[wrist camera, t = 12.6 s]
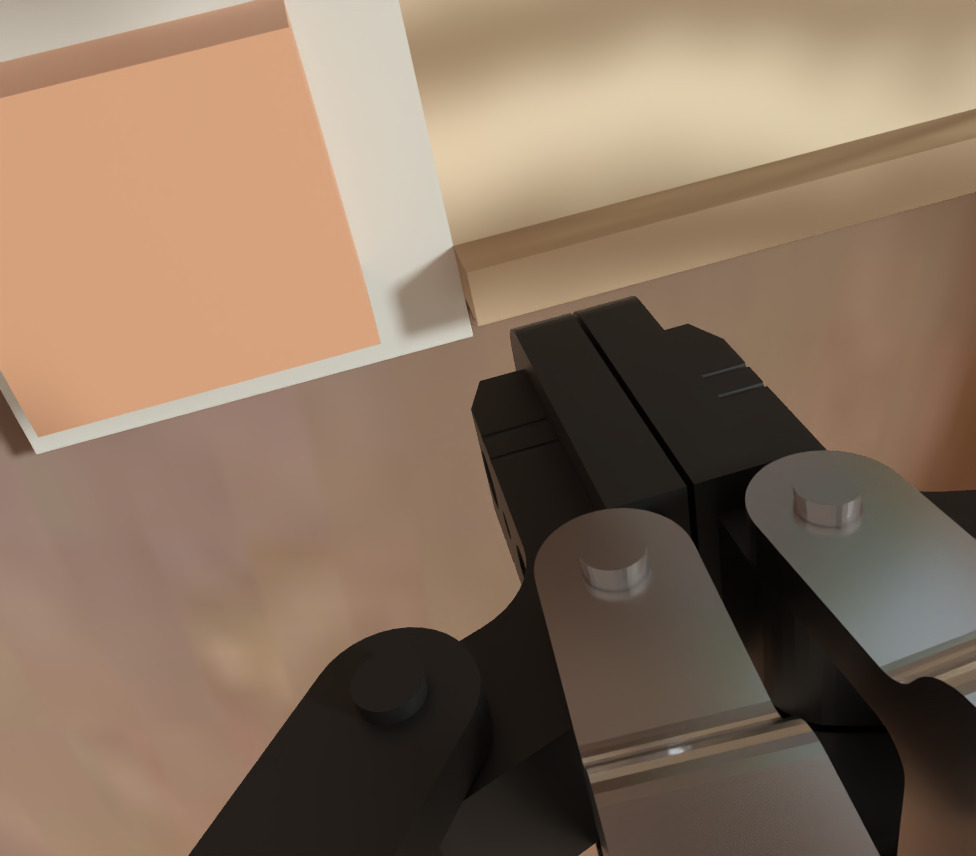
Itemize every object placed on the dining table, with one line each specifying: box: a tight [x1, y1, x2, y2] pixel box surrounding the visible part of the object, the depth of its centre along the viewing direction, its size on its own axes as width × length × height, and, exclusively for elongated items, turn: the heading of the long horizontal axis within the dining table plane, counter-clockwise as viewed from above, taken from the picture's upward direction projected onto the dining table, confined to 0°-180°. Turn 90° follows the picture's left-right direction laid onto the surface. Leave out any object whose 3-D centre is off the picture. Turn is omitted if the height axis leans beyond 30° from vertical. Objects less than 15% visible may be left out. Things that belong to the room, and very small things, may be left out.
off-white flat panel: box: [0, 0, 473, 454], centre depth 24 cm, size 14×13×1 cm
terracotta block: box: [0, 0, 381, 437], centre depth 22 cm, size 7×8×5 cm
